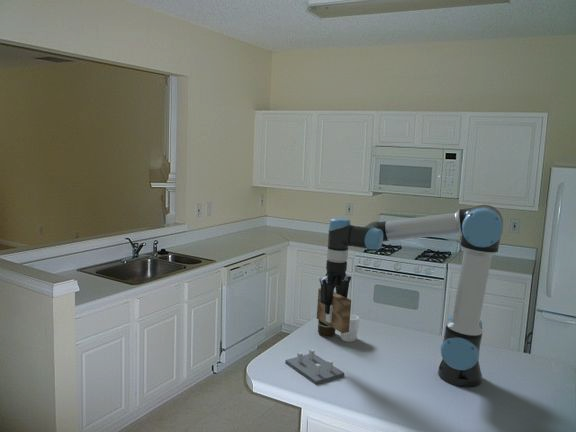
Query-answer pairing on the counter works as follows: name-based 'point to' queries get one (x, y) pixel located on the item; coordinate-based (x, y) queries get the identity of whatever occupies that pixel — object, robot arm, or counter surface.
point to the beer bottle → (325, 328)
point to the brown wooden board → (336, 312)
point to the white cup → (351, 329)
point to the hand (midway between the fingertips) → (332, 320)
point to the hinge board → (314, 367)
